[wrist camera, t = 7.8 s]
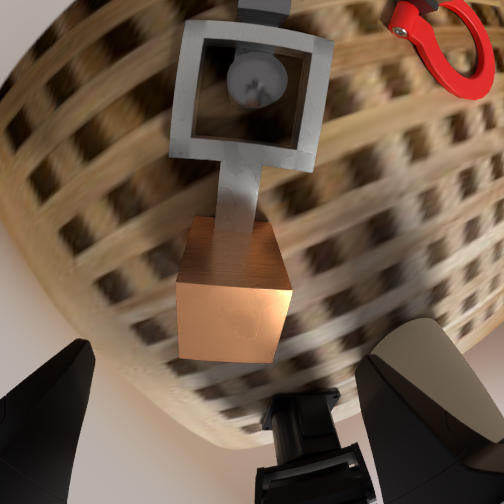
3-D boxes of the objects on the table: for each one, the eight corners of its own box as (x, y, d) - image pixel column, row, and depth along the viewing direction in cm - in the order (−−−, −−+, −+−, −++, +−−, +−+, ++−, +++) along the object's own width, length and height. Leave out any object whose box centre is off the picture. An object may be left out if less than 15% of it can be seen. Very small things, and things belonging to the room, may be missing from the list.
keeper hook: (286, 116, 13) (312, 115, 9) (204, 107, 12) (193, 100, 8) (304, -18, 9) (330, -57, 5) (228, -29, 8) (229, -74, 4)
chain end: (279, 285, 17) (298, 362, 12) (172, 277, 16) (152, 354, 11) (323, 47, 10) (382, 16, 5) (191, 29, 10) (164, -21, 4)
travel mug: (345, 372, 22) (409, 557, 6) (406, 304, 19) (523, 500, 3) (397, 381, 24) (459, 521, 8) (449, 326, 21) (540, 466, 5)
